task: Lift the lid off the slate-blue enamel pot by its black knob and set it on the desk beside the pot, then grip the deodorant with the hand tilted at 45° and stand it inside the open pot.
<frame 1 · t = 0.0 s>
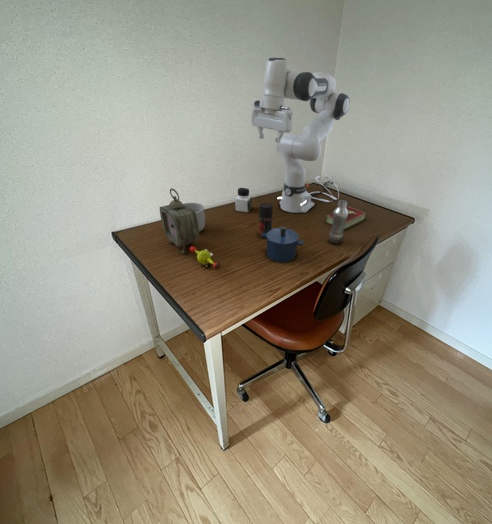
hand: (269, 140, 119), 39 cm above the table, tool pointing down, fingers open, 8 cm apart
planter: (192, 229, 127), on the table
pot lid: (282, 236, 109), point 8 cm above the table, touching pot
toy figure: (206, 266, 103), on the table
earphone: (322, 198, 174), on the table
hardcover book: (345, 221, 147), on the table
pot: (281, 253, 114), on the table
tabletop clock: (184, 246, 114), on the table
deodorant: (265, 235, 127), on the table
medicine bottle: (243, 209, 150), on the table
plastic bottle: (334, 242, 126), on the table
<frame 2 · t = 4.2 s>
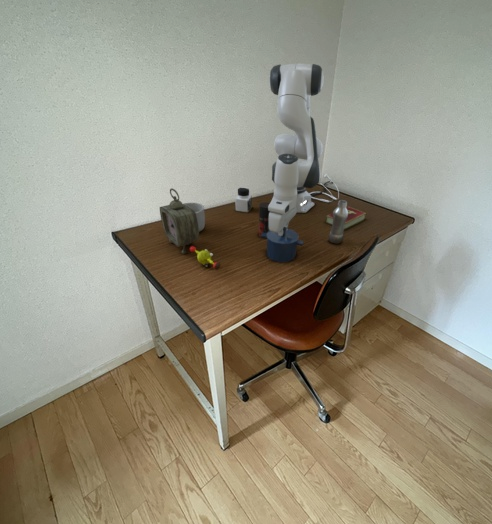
hand: (282, 233, 109), 10 cm above the table, tool pointing down, fingers closed on pot lid, 2 cm apart
pot lid: (282, 236, 110), point 9 cm above the table, touching gripper, pot
everything else where it was.
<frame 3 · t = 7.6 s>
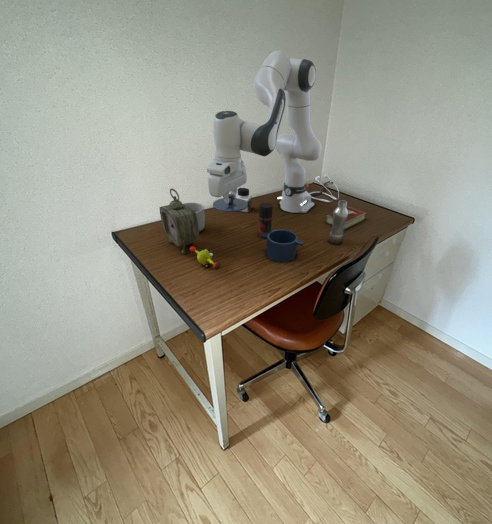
hand: (230, 201, 102), 22 cm above the table, tool pointing down, fingers closed on pot lid, 2 cm apart
pot lid: (230, 205, 103), point 20 cm above the table, touching gripper
everything else where it was.
when the fingers open (2 cm above the table, at t = 11.3 s): pot lid stays where it is, point 1 cm above the table.
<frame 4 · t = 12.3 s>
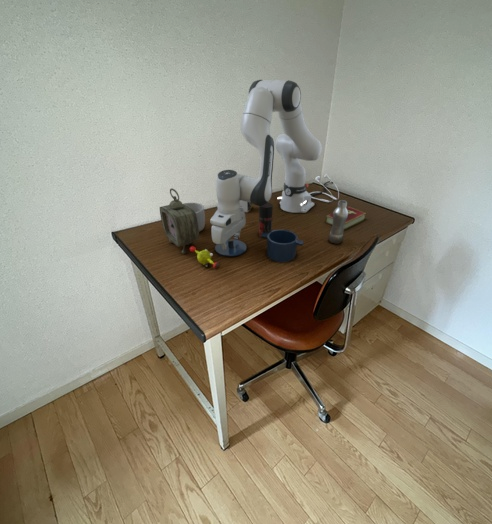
hand: (231, 243, 113), 3 cm above the table, tool pointing down, fingers open, 8 cm apart
pot lid: (231, 248, 114), point 1 cm above the table
everything else where it was.
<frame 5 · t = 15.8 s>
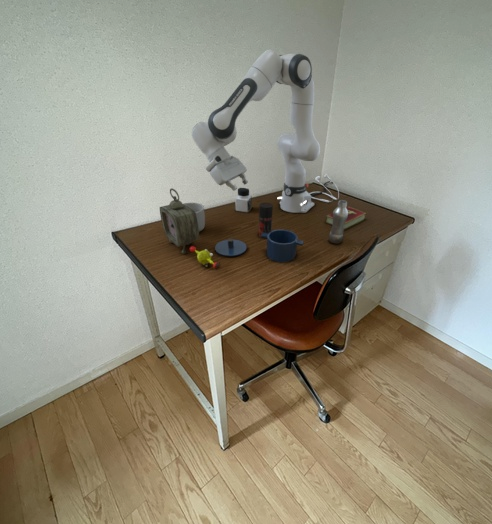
hand: (241, 186, 119), 21 cm above the table, tool tilted 45°, fingers open, 8 cm apart
nothing on the table moved.
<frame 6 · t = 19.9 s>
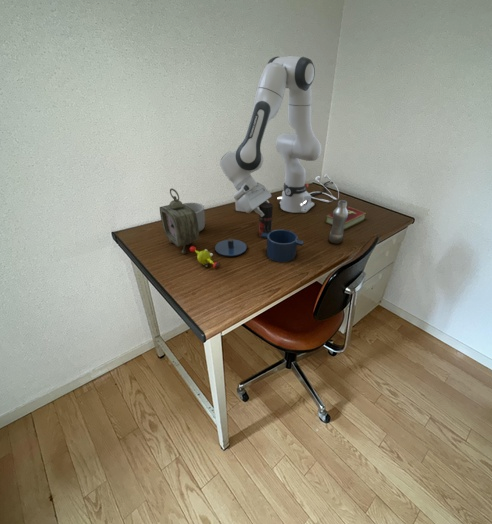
hand: (267, 213, 121), 11 cm above the table, tool tilted 45°, fingers closed on deodorant, 6 cm apart
deodorant: (265, 235, 127), on the table, touching gripper
everything else where it was.
when the fingers open (12 cm above the table, at t = 29.7 s): deodorant stays where it is, resting on pot.
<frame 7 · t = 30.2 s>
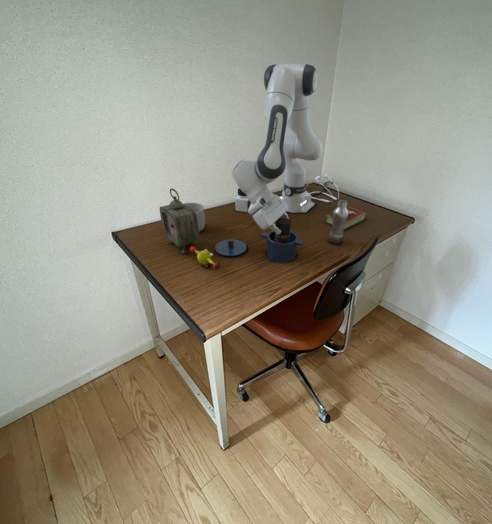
hand: (284, 228, 107), 12 cm above the table, tool tilted 45°, fingers open, 8 cm apart
deodorant: (281, 253, 114), resting on pot
everything else where it was.
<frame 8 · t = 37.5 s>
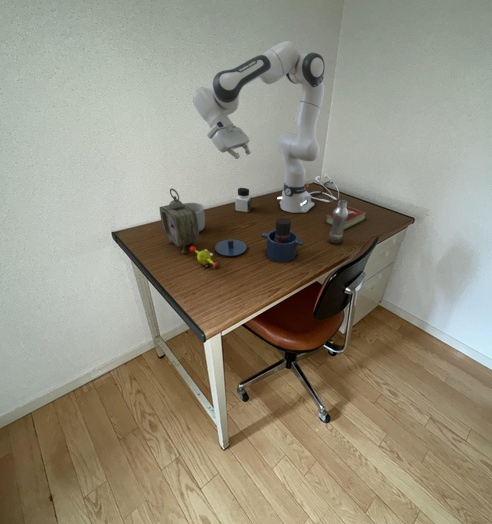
hand: (243, 155, 115), 33 cm above the table, tool tilted 45°, fingers open, 8 cm apart
nothing on the table moved.
at the end: pot lid inside the target area (0.0 cm from its centre), point 0.6 cm above the table; deodorant inside the target area in the pot (0.1 cm from its centre), point 0.3 cm above the pot's base; deodorant tilted 0° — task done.
